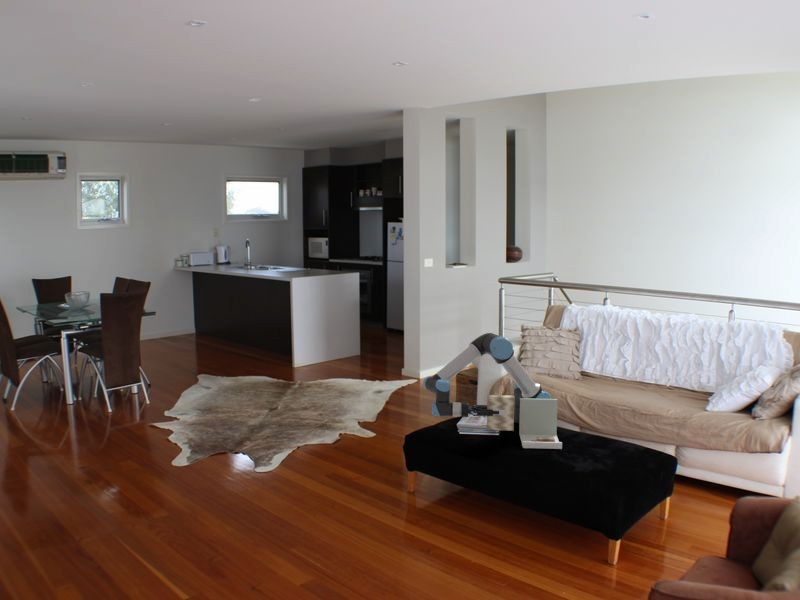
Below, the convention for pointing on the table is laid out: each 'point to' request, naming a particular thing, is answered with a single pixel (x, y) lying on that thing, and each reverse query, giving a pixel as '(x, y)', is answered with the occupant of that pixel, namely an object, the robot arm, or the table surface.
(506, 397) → the beige zigzag-marked block
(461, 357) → the robot arm
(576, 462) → the table surface
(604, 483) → the table surface
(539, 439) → the offcut slab top
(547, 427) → the tray with upright backboard
